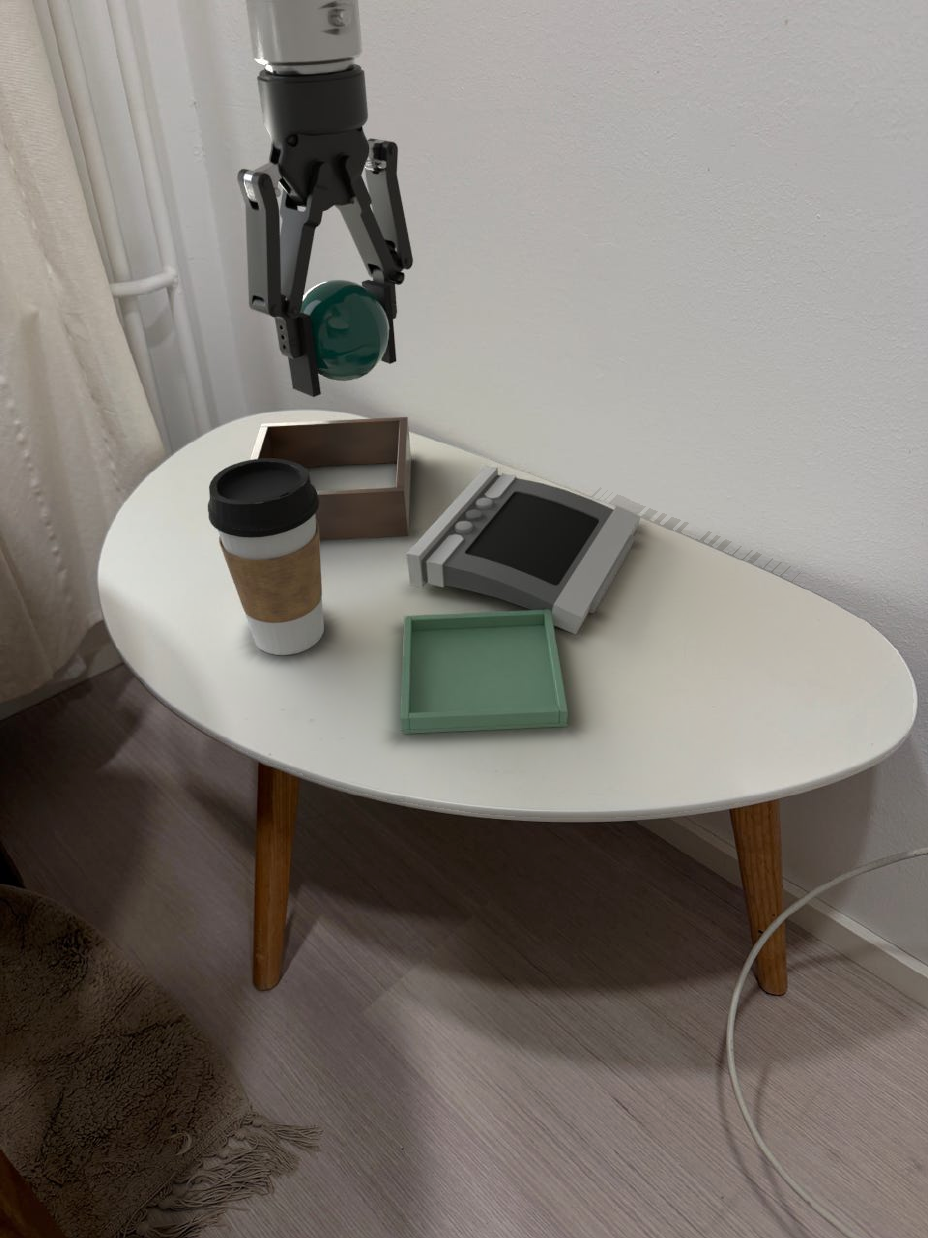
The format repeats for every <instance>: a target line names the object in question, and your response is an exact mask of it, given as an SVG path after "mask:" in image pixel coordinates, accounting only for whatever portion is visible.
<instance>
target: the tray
mask: <svg viewBox="0 0 928 1238" xmlns="http://www.w3.org/2000/svg"><path fill="white" fill-rule="evenodd" d="M403 617H404V618H403V619H404V620H403V642H402V643H403V644H402V645H403V646H402V669H401V670H402V673H401V697H400V698H401V699H400V700H401V701H400V724H401V725H400V726H401V734H402V735H410V734H411V735H412V734H414V735H415V734H434V733H435V734H436V733H437V734H438V733H455V732H456V733H457V732H458V733H459V732H479V731H502V730H520V729H543V728H544V729H545V728H560V727H561V728H564V727H568V713H569V710H568V704H567V698H566V691H565V686H564V679H563V675H562V668H561V662H560V656H559V650H558V644H557V638H556V631H555V626H554V625H553V620H552V614H551V610H548V609H547V610H530V609H526V610H505V611H487V612H486V611H485V612H463V613H461V612H460V613H444V614H442V613H441V614H421V615H420V614H419V615H405V616H403Z"/></svg>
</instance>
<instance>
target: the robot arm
mask: <svg viewBox="0 0 928 1238" xmlns="http://www.w3.org/2000/svg"><path fill="white" fill-rule="evenodd" d="M245 5H246V14H247V21H248V28H249V35H250V43H251V52H252V57H253V59H254V60H255V61H256V62H257V63H258V64H262V66H263V69H261V70H260V71H259V73H258V76H257V77H256V79H257V86H258V94H259V100H260V108H261V114H262V119H263V125H264V127H265V129H266V131H267V133H268V135H269V139H270V151H269V156H268V162H267V163H266V164H263V165H261V166H260V167H257V168H256V169H253V170H251V169H247V168H241V169H240V170H239V171H238V173H237V175H236V180H237V184H238V188H239V190H240V193H241V197H242V200H243V203H244V206H245V207H244V209H245V210H244V211H245V214H244V215H245V239H246V240H245V241H246V263H247V264H246V265H247V267H246V268H247V291H248V292H247V293H248V295H247V296H248V306H249V309H250V310H252V311H253V312H256V313H259V314H262V315H265V316H268V317H270V318H273V319H274V322H275V329H276V334H277V340H278V341H277V342H278V349H279V351H280V353H281V354H282V356H284V357H287V359H288V360H287V361H288V367H289V374H290V379H291V386H292V389H293V390H295V391H298V392H300V393H303V394H305V395H307V396H310V397H311V398H312V397H313V398H316V397H317V396H320V395H321V394H322V392H321V391H322V390H321V385H320V377H319V376H320V375H318V369H317V361H316V354H315V347H314V339H313V332H312V324H311V317H310V315H307V314H304V313H301V308H302V302H303V296H304V295H305V290H306V284H307V279H308V273H309V267H310V262H311V256H312V250H313V244H314V239H315V233H316V229H317V227H319V226H320V225H321V223H322V219H323V213H324V212H325V211H328V210H330V209H331V208H333V207H335V208H336V209H338V211H339V212H340V214H341V216H342V218H343V222H344V223H345V225H346V227H347V230H348V232H349V234H350V237H351V239H352V241H353V244H354V246H355V247H356V249H357V252H358V254H359V256H360V258H361V260H362V263H363V265H364V267H365V270H366V272H367V274H368V276H369V277H370V278H372V280H371V279H366V280H363V281H361V286H363V287H365V288H366V289H368V290H369V291H370V292H372V293H373V294H374V295H375V296H376V298H377V299H378V300H379V302H380V303H381V305H382V307H383V309H384V311H385V313H386V316H387V319H388V323H389V342H388V345H387V348H386V351H385V354H384V356H383V358H382V360H381V361H380V362H384V363H386V364H389V365H391V364H394V363H397V351H396V350H397V349H396V340H395V339H396V338H395V327H394V326H395V325H394V320H395V319H397V316H398V304H397V292H396V291H397V290H396V286H401V285H402V284H403V283H404V282H405V279H406V275H405V272H403V271H404V270H407V271H408V270H410V269H411V268H412V266H413V263H414V257H413V253H412V247H411V243H410V237H409V232H408V225H407V219H406V216H405V211H404V206H403V200H402V195H401V189H400V184H399V183H400V182H399V179H398V157H399V148H398V144H397V143H396V142H395V141H390V140H384V139H377V138H369V139H368V138H367V136H366V134H365V132H364V131H365V130H364V128H363V126H365V124H366V123H367V122H368V118H369V110H368V109H369V108H368V99H367V98H368V96H367V87H366V74H365V70H364V69H362V66H360V65H359V64H356V63H355V59H357V58H359V57H360V56H361V54H362V53H363V44H362V33H361V32H362V31H361V21H360V9H359V8H360V7H359V0H245ZM363 172H364V173H365V179H366V183H365V181H364V178H363V176H362V175H363ZM279 185H280V186H281V187H282V191H281V189H280V188H279V187H278V186H279ZM280 196H281V199H280V200H281V201H280V206H279V202H278V201H279V200H278V198H279V197H280ZM298 207H299V208H301V209H303V211H301V210H299V209H298ZM281 220H282V221H281ZM280 222H281V223H280Z"/></svg>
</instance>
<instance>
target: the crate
mask: <svg viewBox="0 0 928 1238" xmlns="http://www.w3.org/2000/svg"><path fill="white" fill-rule="evenodd" d="M409 428H410V427H409V418H408V416H399V417H397V416H396V417H379V418H378V417H377V418H375V417H374V418H358V419H357V418H356V419H355V418H354V419H335V420H334V419H333V420H332V419H331V420H313V421H312V420H311V421H291V422H289V421H288V422H269V423H261V425H260V428H259V432H258V435H257V437H256V440H255V444H254V447H253V450H252V453H251V456H250V459H249V460H253V459H262V458H273V459H283V460H288V461H291V462H295V463H297V464H299V465H301V466H303V467H304V468H308V467H309V468H311V467H327V466H328V467H329V466H351V465H353V466H354V465H372V464H373V465H374V464H375V465H376V464H395V463H397V464H396V480H395V481H396V482H395V487H375V488H353V489H352V488H351V489H332V490H316V491H317V495H318V497H319V508H318V509H317V511H316V513H315V517H316V520H317V522H318V526H319V541H325V540H345V539H346V540H347V539H365V538H366V539H368V538H369V539H370V538H388V537H389V538H390V537H391V538H392V537H408V536H409V526H410V525H409V521H410V496H411V494H410V493H411V472H412V470H411V469H412V468H411V466H412V454H411V452H412V451H411V442H410V441H411V440H410V429H409Z"/></svg>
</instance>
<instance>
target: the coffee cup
mask: <svg viewBox="0 0 928 1238" xmlns="http://www.w3.org/2000/svg"><path fill="white" fill-rule="evenodd" d="M310 477H311V476H310V474H309V470H308V469H307V468H306V467H303V466H301V465H299V464H297V463H295V462H291V461H288V460H283V459H273V458H262V459H253V460H250V459H248V460H247V459H246V460H243V461H240V462H237V463H233V464H231V465H229V466H227V467H225V468H223V469H222V470H220V471H218V472H217V473H216V474H215V475H214V476H213V477H212V478H211V480H210V482H209V485H208V492H209V493H208V494H209V499H208V502H207V512H208V520H209V523H210V524H211V526H213V527H214V529H216V530H217V532H218V535H219V536H218V541H219V542H218V543H219V546H220V549H221V551H222V554H223V557H224V560H225V562H226V563H225V564H226V565H227V568H228V571H229V574H230V576H231V578H232V582H233V584H234V587H235V590H236V593H237V596H238V598H239V601H240V603H241V607H242V609H243V611H244V614H245V616H246V620H247V624H248V626H249V629H250V632H251V636H252V638H253V641H254V643H255V645H256V646H257V647H258V649H260V650H261V651H263V652H265V653H267V654H271V655H276V656H290V655H295V654H299V653H302V652H304V651H307V650H309V649H310V648H312V647H314V646H315V645H316V644H317V643H318V642H319V641H320V639H321V638H322V637H323V634H324V630H325V624H324V623H325V622H324V609H323V588H322V566H321V565H322V564H321V545H320V544H321V543H320V542H321V540H319V526H318V522H317V520H316V517H315V513H316V511H317V509H318V508H319V497H318V495H317V491H318V490H317V489H316V487H315V486H314V484H313V482H312V481H311V478H310Z"/></svg>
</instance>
